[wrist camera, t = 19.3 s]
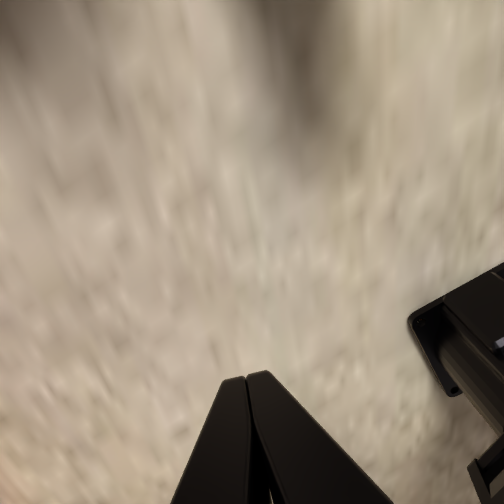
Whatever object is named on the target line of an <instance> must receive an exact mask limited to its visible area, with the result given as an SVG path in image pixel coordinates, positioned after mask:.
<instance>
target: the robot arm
mask: <svg viewBox="0 0 504 504" xmlns="http://www.w3.org/2000/svg"><path fill="white" fill-rule="evenodd" d="M419 319H422V320H421V321H420V322H417V321H418V320H419ZM408 322H409V325H410V326H411V328H412V330H413V332H414V334H415V336H416V338H417V340H418V342H419V344H420V346H421V348H422V350H423V352H424V354H425V356H426V358H427V359H428V361H429V363H430V365H431V367H432V369H433V371H434V373H435V375H436V377H437V379H438V381H439V383H440V385H441V387H442V389H443V390H444V392H445V393H446V394H447V395H448V396H449V397H455V396H458V395H460V394H462V393H464V394H465V395H466V397H467V398H468V399H469V400H470V402H471V403H472V404H473V405H474V407H475V408H476V409H477V410H478V412H479V413H480V414H481V415H482V417H483V418H484V419H485V420H486V422H487V423H488V424H489V425H490V427H491V428H492V429H493V430H494V432H495V433H496V434H497V435H498V437H499V438H498V439H497V440H496V441H495V442H494V443H493V444H492V445H491V446H490V447H489V448H488V449H487V450H486V451H485V452H484V453H483V454H482V455H481V456H480V457H479V458H478V459H474V460H473V461H472V462H471V463H470V464H469V465H468V466H467V470H468V472H469V475H470V477H471V480H472V482H473V485H474V487H475V490H476V492H477V495H478V497H479V500H480V502H481V504H504V262H503V263H501V264H500V265H498V266H496V267H494V268H492V269H491V270H489V271H487V272H485V273H483V274H482V275H480V276H478V277H476V278H474V279H472V280H471V281H469V282H467V283H465V284H463V285H462V286H460V287H458V288H456V289H454V290H453V291H451V292H449V293H447V294H445V295H443V296H442V297H440V298H438V299H436V300H434V301H433V302H431V303H429V304H427V305H425V306H424V307H422V308H420V309H418V310H416V311H414V312H413V313H412V314H411V315H410V316H409V319H408ZM270 492H271V493H270ZM271 496H272V499H271ZM272 500H273V504H394V503H393V502H392V501H391V499H390V498H389V497H388V496H387V495H386V494H385V493H384V492H383V491H382V490H381V489H380V488H379V487H378V486H377V485H376V484H375V483H374V481H373V480H372V479H371V478H370V477H369V476H368V475H367V474H366V473H365V472H364V471H363V470H362V469H361V468H360V467H359V466H358V465H357V463H356V462H355V461H354V460H353V459H352V458H351V457H350V456H349V455H348V454H347V453H346V452H345V451H344V450H343V449H342V448H341V447H340V445H339V444H338V443H337V442H336V441H335V440H334V439H333V438H332V437H331V436H330V435H329V434H328V433H327V432H326V431H325V430H324V429H323V427H322V426H321V425H320V424H319V423H318V422H317V421H316V420H315V419H314V418H313V417H312V416H311V415H310V414H309V413H308V412H307V411H306V409H305V408H304V407H303V406H302V405H301V404H300V403H299V402H298V401H297V400H296V399H295V398H294V397H293V396H292V395H291V394H290V393H289V391H288V390H287V389H286V388H285V387H284V386H283V385H282V384H281V383H280V382H279V381H278V380H277V379H276V378H275V377H274V376H273V375H272V373H270V372H269V371H267V370H264V371H260V372H256V373H251V374H248V375H247V377H246V378H245V377H244V376H239V377H234V378H230V379H226V380H224V381H223V382H222V383H221V385H220V388H219V390H218V392H217V395H216V397H215V399H214V402H213V404H212V407H211V409H210V411H209V414H208V416H207V418H206V421H205V423H204V425H203V428H202V430H201V432H200V435H199V437H198V439H197V442H196V444H195V446H194V449H193V451H192V454H191V456H190V458H189V461H188V463H187V465H186V468H185V470H184V472H183V475H182V477H181V479H180V482H179V484H178V486H177V489H176V491H175V493H174V496H173V498H172V501H171V503H170V504H272Z"/></svg>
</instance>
